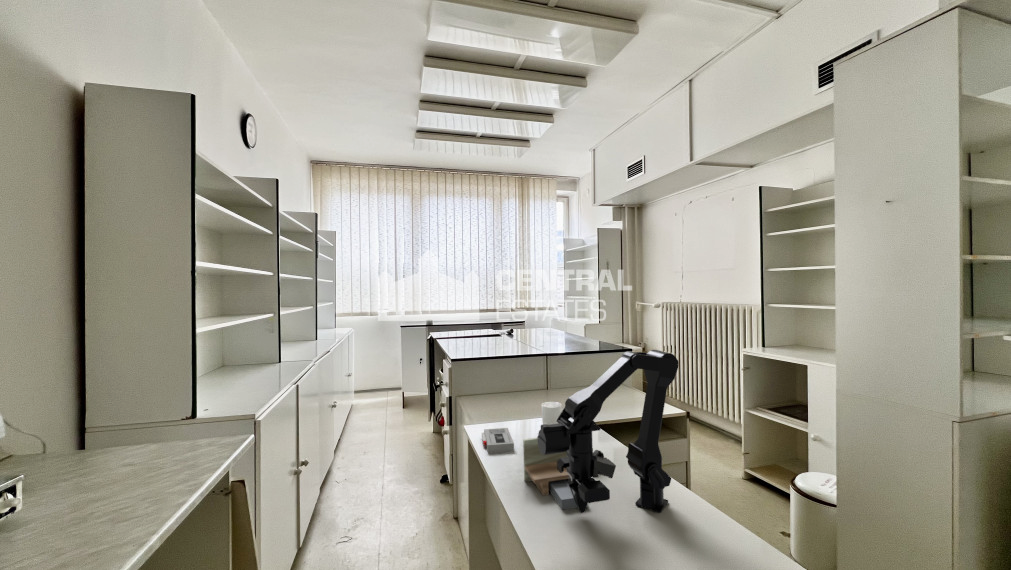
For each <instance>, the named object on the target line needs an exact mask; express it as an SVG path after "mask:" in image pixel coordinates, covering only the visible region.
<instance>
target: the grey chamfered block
mask: <svg viewBox="0 0 1011 570" xmlns="http://www.w3.org/2000/svg"><path fill="white" fill-rule="evenodd" d="M548 487H549V492H550V494H551V495H552V497H553V498H554V500H555V502H556V503H557V505H558V507H559V508H560V509H561V510H568V509H575V508H578V507H577V505H576V503H575V500H574V498H573V496H572V494H571V491H570V489H569V487H568V485H567V483H566V481H565V479H562V480H555V481H549V482H548ZM588 504H589V503H588ZM588 504H587V506H588Z"/></svg>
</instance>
